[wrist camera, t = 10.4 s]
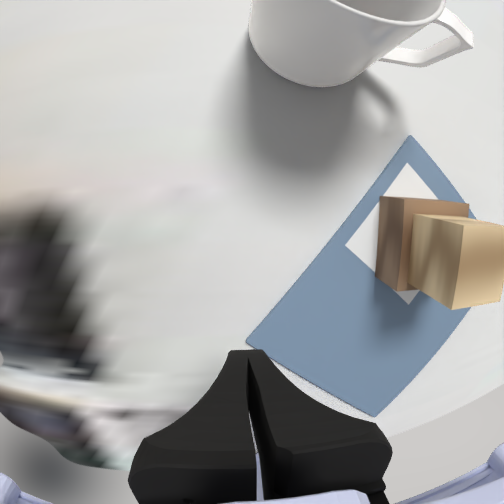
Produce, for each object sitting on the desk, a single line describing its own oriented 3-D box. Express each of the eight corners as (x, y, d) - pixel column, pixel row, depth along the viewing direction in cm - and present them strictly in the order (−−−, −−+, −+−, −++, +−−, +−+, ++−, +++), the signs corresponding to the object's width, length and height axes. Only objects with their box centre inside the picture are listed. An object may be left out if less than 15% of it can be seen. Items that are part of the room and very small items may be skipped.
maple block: (454, 278, 19) (499, 301, 14) (407, 282, 19) (451, 310, 14) (461, 216, 18) (511, 227, 13) (413, 213, 18) (463, 225, 13)
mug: (231, 70, 19) (234, -25, 8) (266, -17, 17) (289, -114, 6) (387, 126, 20) (492, 99, 9) (404, 38, 18) (486, -16, 8)
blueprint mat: (373, 415, 26) (375, 417, 25) (245, 339, 23) (246, 342, 22) (498, 258, 23) (501, 259, 23) (408, 135, 20) (411, 135, 20)
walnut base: (435, 272, 22) (460, 285, 19) (374, 276, 22) (396, 291, 19) (441, 199, 21) (469, 203, 18) (379, 195, 21) (404, 198, 17)
